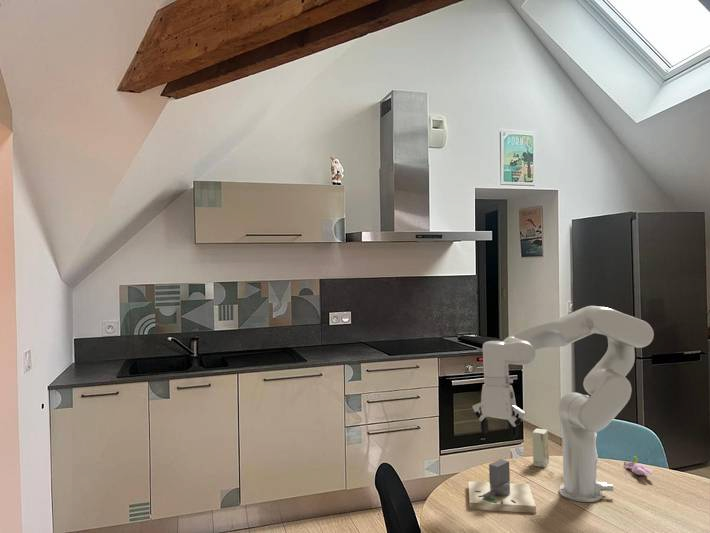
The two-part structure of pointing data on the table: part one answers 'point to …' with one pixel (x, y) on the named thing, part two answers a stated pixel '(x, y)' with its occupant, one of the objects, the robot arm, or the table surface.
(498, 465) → the knob
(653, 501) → the table surface
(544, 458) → the skincare box
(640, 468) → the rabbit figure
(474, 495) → the dial board
